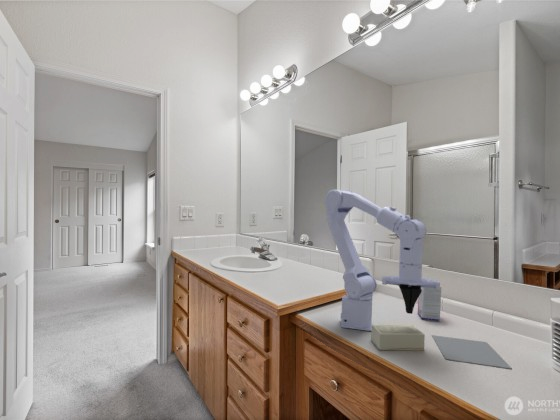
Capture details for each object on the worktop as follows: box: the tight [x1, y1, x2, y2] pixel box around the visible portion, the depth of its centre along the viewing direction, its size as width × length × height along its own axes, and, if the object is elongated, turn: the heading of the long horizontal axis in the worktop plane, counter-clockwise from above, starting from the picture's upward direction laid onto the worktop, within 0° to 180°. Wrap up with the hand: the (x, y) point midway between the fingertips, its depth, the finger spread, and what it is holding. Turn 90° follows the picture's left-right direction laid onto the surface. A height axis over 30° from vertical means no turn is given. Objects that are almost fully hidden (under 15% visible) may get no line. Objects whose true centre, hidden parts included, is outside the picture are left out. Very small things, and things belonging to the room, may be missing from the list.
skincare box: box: [370, 324, 426, 351], centre depth 79 cm, size 6×4×12 cm
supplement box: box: [417, 286, 442, 322], centre depth 100 cm, size 6×6×12 cm
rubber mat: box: [431, 334, 513, 370], centre depth 77 cm, size 14×14×1 cm
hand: (409, 312), depth 80 cm, fingers closed
